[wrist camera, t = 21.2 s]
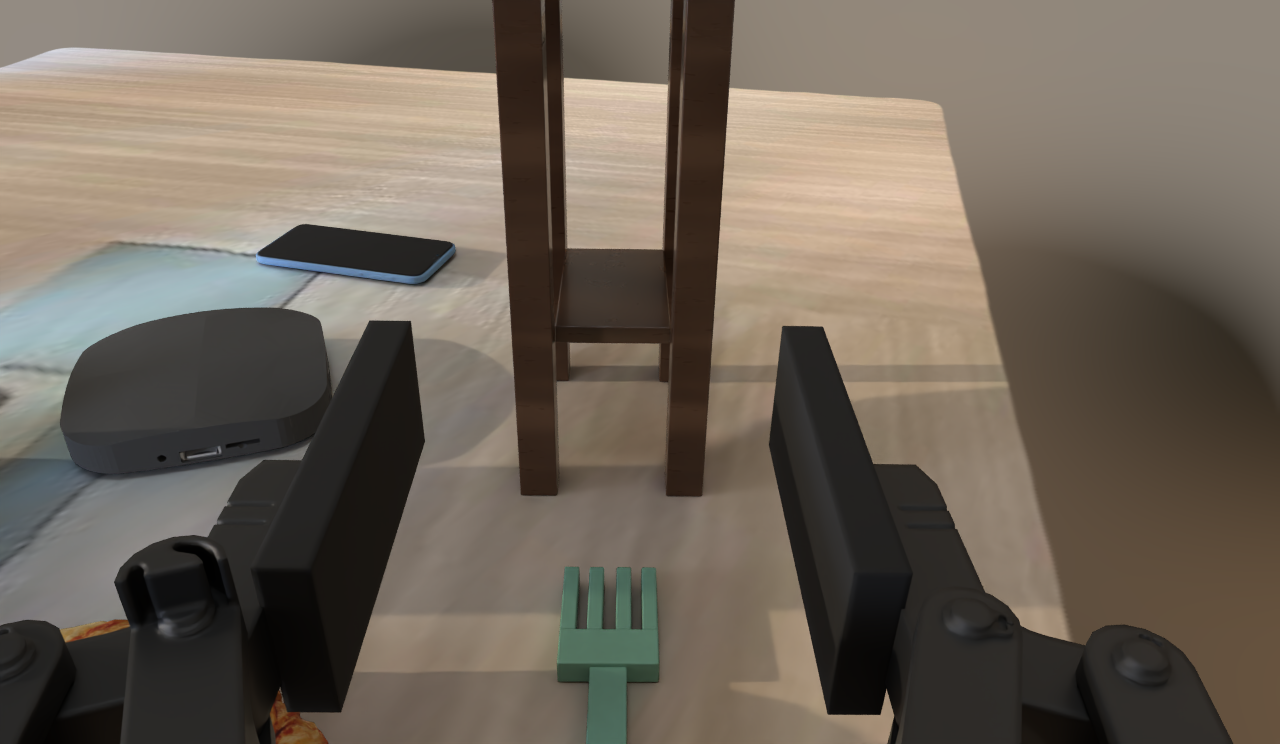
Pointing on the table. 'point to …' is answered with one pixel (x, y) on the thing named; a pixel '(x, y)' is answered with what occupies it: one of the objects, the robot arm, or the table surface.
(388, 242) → the smartphone
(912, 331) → the table surface
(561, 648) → the fork
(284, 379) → the media streaming box
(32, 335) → the table surface
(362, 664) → the table surface
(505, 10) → the plant stand
